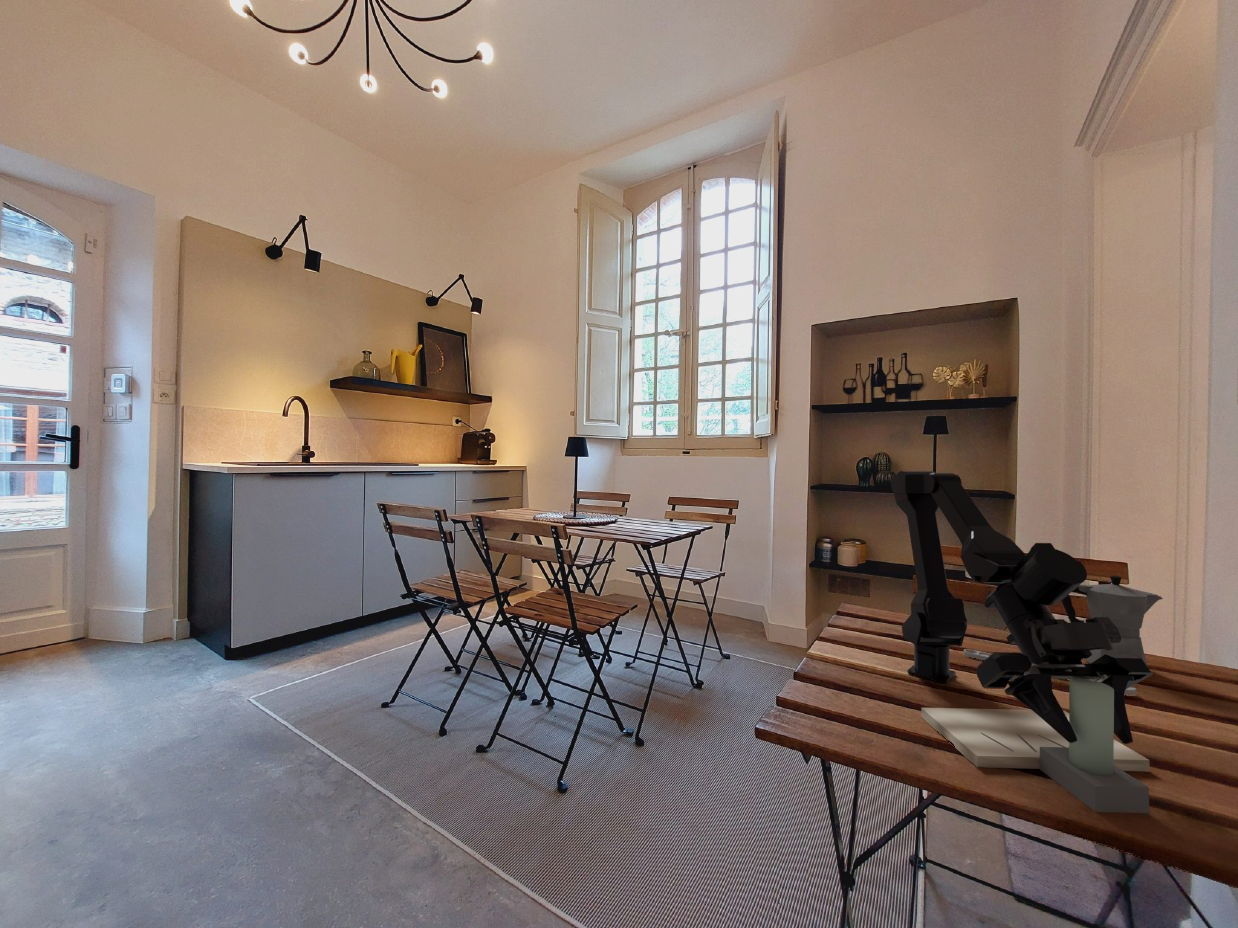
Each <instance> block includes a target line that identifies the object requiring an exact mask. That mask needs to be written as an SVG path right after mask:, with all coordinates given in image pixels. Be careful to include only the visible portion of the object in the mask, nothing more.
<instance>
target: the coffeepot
mask: <svg viewBox="0 0 1238 928" xmlns="http://www.w3.org/2000/svg"><path fill="white" fill-rule="evenodd" d="M1110 580H1111V583H1108V584H1106V583H1105V584H1104V583H1103V584H1102V583H1101V584H1080V585H1079V586H1078V587H1077V588H1076V589H1074V590H1073V591H1072V592H1071V593H1073V594H1078V595H1079V594H1080V595H1084V596H1085V597H1086V602H1087V603H1086V604H1087V608H1088V613H1089V618H1094V617H1108V618H1109V619H1110V620H1111V621H1112V622H1113V624H1114V625H1115V626H1116V627H1117V628H1118V630H1119V633H1120V636H1121V641H1120V643H1112V647H1113V650H1105V649H1097V650H1090V651H1091V653H1092V655H1091V656H1090V657H1088V658H1087V659H1084V658H1083V660H1084V661H1086V662H1087V664H1091V663H1092V662H1094V661H1095V660H1097V659H1098V658H1100V657H1102V656H1103V655H1105V654H1130V655H1134V656H1137V657H1139V658H1141V659H1142V660H1143V661H1144V663H1145V664H1146V665H1147V661H1146V654H1145V652H1144V646H1143V642H1142V638H1141V633H1140V631H1141V630H1140V629H1141V628H1143V627H1142V626H1143V622H1144V617H1145V615H1146V613H1147V612H1148V611H1149V610H1150V609H1151V608H1152V607H1153V606H1154V605H1155V604H1156V603H1157V602H1158V601H1160V600H1163V597H1162V596H1161V595H1158V594H1155V593H1151V592H1147V591H1144V590H1139V589H1134V588H1131V587H1128V586H1125V585H1122V584H1121V580H1122V576H1119V575H1115V574H1114V575H1110ZM1120 584H1121V585H1120ZM1060 602H1061V604H1062V606H1063V609H1064V611H1065V613H1066V616H1067V618H1068V620H1069V623H1070V622H1085V620H1081V619H1078V618H1077V617H1076V609H1075V608H1074V606H1073V603H1072V599H1071V595H1070V594H1069V595H1067V596H1066V597H1065V598H1064V599H1063V600H1061V601H1060ZM1147 666H1148V665H1147Z"/></svg>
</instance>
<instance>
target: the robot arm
mask: <svg viewBox="0 0 1238 928" xmlns="http://www.w3.org/2000/svg"><path fill="white" fill-rule="evenodd" d="M962 484H963V483H962V478H961V477H960V476H959V474H955V473H953V472H935V471H933V470H899V471H898V472H897V473H896V475H895V476H892V479H891V483H890V487H891V490H892V492H893V495H894V501H895V503H896V505H897V507H898V508H900V510H901V511H902V512H903V513H904V514H905V516H906V518H907V524H908V530H909V531H908V532H909V538H910V546H911V550H912V558H913V565H914V571H915V578H916V584H917V585H916V586H917V590H916V593H915V595H914V596H913V598H912V601H911V603H910V615H909V616H908V618H907V619H906V620H905V621H904V622H903V623H902V625H901V631H902V637H903V638H904V639H905V640H907V641H909V642H910V643H911V644H913V645H914V646H913V650H914V651H913V665H912V666H911V667H909V668H908V669H907V673H908V674H910V675H914V676H917V675H918V677H920V676H922V677H921V678H923V677H924V679H927V678H928V680H930V679H933V680H932V681H934V680H935V682H937V681H939V682H938V683H941V682H943V683H942V684H947V683H948V682H950V681H951V680H952V679H953V678H954V677H955V676H956V674H957V672H956V671H955V670H952V669H950V647H951V646H952V647H953V646H954V647H956V646H957V647H962V646H963V643H964V638H965V636H966V631H967V629H968V624H967V622H968V619H967V618H966V617H967V616H966V614H965V605H964V601H963V599H962V598H959V597H957V598H956V597H955V596H954V594H953V593H952V592H951V591H950V589H949V587H948V581H947V573H946V568H945V561H944V557H943V550H942V543H941V539H940V537H941V536H940V532H939V525H938V519H937V511H938V510H939V509H940V511H941V512H942V514H943V515H944V517H945V519H946V521H947V522H948V524H949V525H950V526H951V529H952V530H953V531H954V533H955V534H956V537H958V539H959V541H960V544H961V550H960V555H959V557H960V559H961V561H962V563H963V565H964V568H965V571H966V572H967V574H968V576H969V577H970V578H971V579H972V581H973V582H977V583H981V584H999V585H997V587H996V588H994V589H989V590H988V591H987V596H986V598H985V600H984V607H985V608H987V609H997V611H998V613H999V615H1000V617H1001V618H1002V620H1003V622H1004V624H1005V626H1006V627H1007V630H1008V631H1009V635H1007V636H1006V637H1005V638H1006V640H1007V642H1008V644H1009V645H1017V648H1018V649H1019V652H1012V651H1010V652H1008V651H1007V652H1006V651H1005V652H1004V651H1002V652H1000V651H998V652H997V651H994V652H992V653H990V654H991V655H990V656H989V657H988V658H987V659H985V660H984V661H982V662H981V663H979V664H978V665H977V668H976V677H977V678H978V681H979V683H980V685H981V687H982V688H983V689H990V690H993V689H995V690H1003V691H1004V693H1005V694H1006V695H1007V696H1013V697H1014V698H1015V699H1016V700H1018V701H1019V702H1021V703H1022V704H1023V705H1025V707H1027V708H1028V709H1029V710H1032V711H1033V712H1035V713H1036V714H1037V715H1038V716H1039V717H1041V718H1042V719H1043V720H1044V721H1045V722H1046V723H1047V724H1049V725H1050V726H1051V727H1052V728H1053V729H1054V730H1055V731H1057V732H1058V733H1059V734H1060V735H1061V736H1062V737H1063V738H1064V739H1066V740H1067V741H1068V742H1069V743H1074V742H1076V741H1077V738H1076V735H1075V733H1074V731H1073V728H1072V726H1071V724H1070V723H1069V721H1068V719H1067V717H1066V715H1065V714H1064V712H1063V711H1064V710H1063V709H1062V706H1061V704H1060V702H1059V701H1058V699H1057V698H1056V696H1055V693H1054V691H1053V685H1052V684H1053V682H1052V679H1056V680H1057V679H1058V680H1059V679H1060V680H1065V679H1072V678H1083V679H1089V680H1093V681H1097V682H1101V683H1103V684H1106V685H1108V686H1110V687H1112V688H1113V689H1114V736H1116V737H1117V738H1118V739H1119V740H1120V742H1122V743H1123V745H1130V744H1131V743H1134V740H1133V736H1132V730H1131V725H1130V722H1129V721H1130V720H1129V718H1128V713H1127V707H1126V701H1125V700H1126V699H1125V697H1124V693H1125V690H1126V689H1128V688H1129V687H1131V688H1132V687H1133V686H1135V685H1137V684H1138V683H1140V682H1142V681H1143V680H1146V679H1147V678H1149V677H1151V676H1153V672H1152V671H1151V669H1150V668H1149V667H1148V665H1146V664H1147V663H1146V664H1145V663H1144V661H1143V660H1142V659H1141V658H1139V657H1137V656H1134V655H1130V654H1105V655H1103V656H1102V657H1100V658H1098V659H1097V660H1095V661H1094V662H1092V663H1091V664H1090V663H1084V662H1083V661H1082V660H1084V659H1087V658H1088V657H1090V656H1091V655H1092V653H1091V651H1090V650H1097V649H1105V650H1113V647H1112V643H1120V641H1121V636H1120V633H1119V630H1118V628H1117V627H1116V626H1115V625H1114V624H1113V622H1112V621H1111V620H1110V619H1109V618H1108V617H1094V618H1090V617H1087V618H1085V620H1084V622H1070V621H1069V622H1068V621H1066V620H1065V619H1064V618H1063V619H1061V618H1060V619H1059V618H1057V619H1056V617H1055V616H1054V615H1053V613H1052V611H1051V609H1050V608H1049V607H1048V606H1054V605H1057V604H1060V603H1061V602H1062V601H1061V600H1063V599H1064V598H1065V597H1066V596H1067V595H1069V596H1070V594H1071V593H1073V592H1072V591H1073V590H1074V589H1076V588H1077V587H1078V586H1079V585H1083V583H1084V582H1085V581H1086V580H1087V578H1088V577H1087V576H1088V572H1087V569H1086V567H1085V566H1084V564H1083V563H1082V562H1081V561H1080V560H1077V559H1076V558H1075V557H1073V556H1071V555H1070V554H1069V553H1067V552H1064V551H1062V550H1060V549H1056V548H1055V547H1054V546H1053V543H1051V542H1035V543H1034V544H1033V545H1032V546H1031V547H1030V549H1029V550H1028V552H1027V553H1025V552H1024V550H1023V549H1021V548H1020V547H1019V546H1018V545H1017V544H1016V543H1015V542H1014V541H1013V540H1012V539H1011V538H1010V537H1008V536H1006V535H1004V534H1003V533H1000V532H999V531H997V530H995V529H994V527H992V526H991V525H990V523H989V521H988V520H987V519H986V517H985V516H984V515H983V513H982V512H981V510H980V508H979V507H978V506H977V505H976V503H975V502H974V501H973V498H971V496H970V495H969V493H968V492H967V491H966V489H965V487H964V486H963V485H962ZM950 679H951V680H950ZM1007 686H1008V687H1007Z"/></svg>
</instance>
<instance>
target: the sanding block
mask: <svg viewBox="0 0 1238 928" xmlns="http://www.w3.org/2000/svg"><path fill="white" fill-rule="evenodd" d="M1068 681H1069V684H1068V685H1069V690H1068V691H1069V693H1068V697H1069V698H1068V699H1069V700H1068V701H1069V702H1068V706H1069V707H1068V713H1069V723H1070V724H1071V726H1072V728H1073V731H1074V733H1075V735H1076V738H1077V741H1076V742H1074V743H1069V747H1040V769H1039V771H1041V772H1042V773H1044V774H1045V775H1046V776H1048V777H1049V778H1050V779H1051V780H1053V781H1054V782H1056V783H1057V784H1058V785H1060V786H1061V787H1062V788H1063V789H1065V790H1066V791H1067V792H1068V793H1070V794H1071V795H1072V796H1073V797H1075V798H1076V799H1078V800H1079V801H1081V802H1082V803H1083V804H1084V805H1085V806H1087V807H1088V808H1089V809H1091V810H1092V811H1094V812H1095V813H1097V812H1098V813H1125V814H1126V813H1129V814H1149V813H1150V787H1149V786H1147V785H1146V784H1144V783H1143V782H1142V781H1139V780H1138V779H1136V778H1135V777H1133V776H1132V775H1130V774H1128V773H1126V771H1122V770H1121V769H1119V768H1118V767H1116V766H1114V740H1115V739H1114V738H1115V734H1114V689H1113V688H1112V687H1110V686H1108V685H1106V684H1103V683H1101V682H1097V681H1093V680H1089V679H1083V678H1072V679H1070V680H1068Z"/></svg>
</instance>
